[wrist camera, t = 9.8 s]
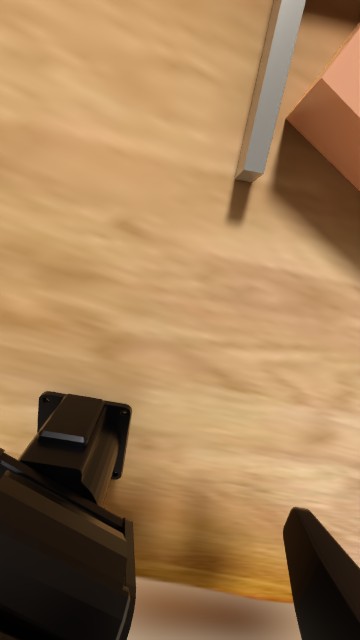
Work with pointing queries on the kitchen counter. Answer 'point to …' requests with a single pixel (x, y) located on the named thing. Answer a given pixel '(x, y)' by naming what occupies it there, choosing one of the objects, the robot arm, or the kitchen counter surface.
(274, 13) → the grey u-shaped bracket
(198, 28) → the kitchen counter surface
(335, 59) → the salmon pink block
